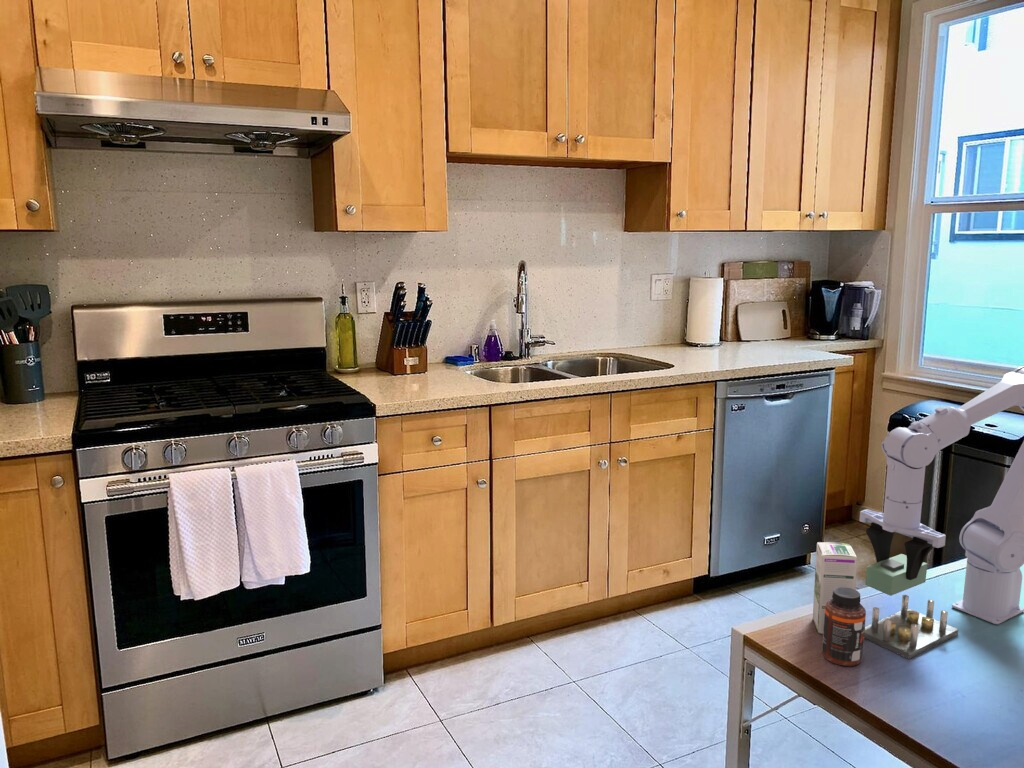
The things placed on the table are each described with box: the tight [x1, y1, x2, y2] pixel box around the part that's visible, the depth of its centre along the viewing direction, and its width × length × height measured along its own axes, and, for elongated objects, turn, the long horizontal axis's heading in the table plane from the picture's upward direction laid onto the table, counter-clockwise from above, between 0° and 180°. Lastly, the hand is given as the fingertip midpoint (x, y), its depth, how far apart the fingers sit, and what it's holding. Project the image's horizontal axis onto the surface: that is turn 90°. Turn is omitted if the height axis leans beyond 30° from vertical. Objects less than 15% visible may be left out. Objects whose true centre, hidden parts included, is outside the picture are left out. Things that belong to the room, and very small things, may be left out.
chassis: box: [864, 594, 959, 660], centre depth 130 cm, size 14×9×4 cm, turn 122°
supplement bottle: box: [822, 587, 867, 667], centre depth 123 cm, size 6×6×11 cm
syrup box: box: [812, 541, 858, 635], centre depth 132 cm, size 6×6×14 cm
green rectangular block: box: [864, 553, 928, 597], centre depth 135 cm, size 10×5×4 cm, turn 121°
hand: (896, 572), depth 135 cm, fingers closed on green rectangular block, 5 cm apart
